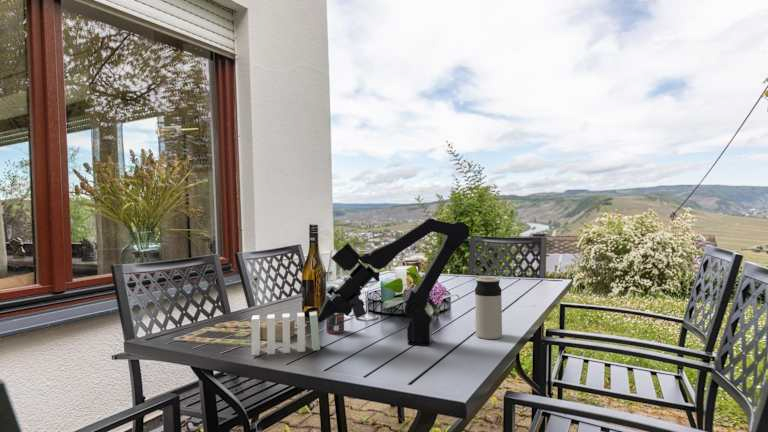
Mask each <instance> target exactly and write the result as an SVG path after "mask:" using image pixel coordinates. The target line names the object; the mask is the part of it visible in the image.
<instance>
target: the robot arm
mask: <svg viewBox="0 0 768 432" xmlns="http://www.w3.org/2000/svg"><path fill="white" fill-rule="evenodd" d="M469 228H470V227H469V226H468V225H467V224H466V223H465V222H463V221H452V222H445V221H442V220H438V219H435V218H426V219H424V221H423V222H421V223H420V224H418V225H416V226H415V227H413V228H412V229H411V230H409V231H408V232H406V233H404V234H402V235H401V236H399V237H398V238H396V239H395V240H393V241H391V242H389V243H386V244H383V245H381V246H379V247H376V248H374V249H372V250H371V251H370V252H368V253H358V252H357V251H356V250H355V249H354V248H353V246H352V245H351V244H350V243H349V242H346V243H345V244H344V245H343V246H342V248H339V249H338V250H337V252H336V253H334V255H332V256H331V260H332V261H333V262H334V263H335V264H336V265H337V266H339V268H341V270H343V271H344V272H345V271H348V272H350V271H352V270H353V271H352V272H350V274H348V276H346V277H344V278H343V279H342V280H343V281H342V282H341V283H340V284H339V285H338V286H337V287H336V286H332V285H331V286H329V287H328V288H327V289H326V291H325V292H326V293H327V294H329V295H326V296H325V299H324V302H323V305H322V307H321V309H320V312H319V314H318V315H317V318H318V324H320V323H322V322H323V321H326V319H327V318H328V317H330V316H331V315H333V314H335V313H344V316H347V317H349V315H350V314H351V313H352V312H353V313H352V314H354V317H355V318H356V319H359V318H362V316H365V315H366V314H367V312H366V309H365V308H364V306H365V303H364V302H363V299H362V298H361V299H360V296H361V295H362V292H361V291H362V290H363V289H364V288H365V287H366V286H367V285H368V284H369V282H371V281H372V280H373V279H374V280H375V281H376V282H379V281H380V271H375V270H382V269H384V268H385V267H387V266H388V265H389V264H390V263H391V262H392V261H393V260H395V258H396V257H397V256H398V255H399V254H400V253H402V252H403V251H404V250H406V249H407V248H409V247H410V246H412V245H414V244H415V243H417V242H418V241H420V240H421V239H423V238H424V237H426V236H428V235H429V234H431V233H437V234H442V235H443V238H442V242H441V245H440V247H439V249H438V251H437V252H436V254H435V256H434V258H432V261H431V263H430V264H429V266H428V268H427V269H426V271H425V273H424V275H423V276H422V278H421V280H420V282H419V283H418V284H417V286H416V287H415V288H414V289H412V288H411V287H408V290H407V293H406V294H405V295H404V297H402V300H403V303H402V308H403V312H404V314H405V315H406V316H407V317H408V318H409V319H410V320H409V321H408V326H407V327H406V333H407V334H406V335H407V336H406V337H407V338H406V340H407V344H408V345H414V346H426V347H427V346H430V345H431V344H432V342H433V341H434V338H433V335H432V333H433V332H432V319H433V318H432V316H431V315H430V313H429V312H428V310H426V307H427V305H428V302H429V297H430V294H431V292H432V290H433V289H434V287H435V285H436V284H437V281H438V279H439V278H440V277H441V275H442V273H443V271H444V269H445V268H446V266H447V265H448V263H449V261H450V259H451V257H452V255H453V254H454V252H456V251H457V250H458V249H459V248H460V247H461V246H462V245H463V244H464V242H465V241H466V240H467V239H468V238H469V236H470V229H469ZM360 261H361V262H360ZM357 264H358V265H357ZM364 264H365V265H368V266H365V265H364ZM356 265H357V266H356ZM370 266H371V267H370ZM374 269H375V270H374Z"/></svg>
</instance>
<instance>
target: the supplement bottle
mask: <svg viewBox="0 0 768 432" xmlns="http://www.w3.org/2000/svg"><path fill="white" fill-rule="evenodd" d="M325 321H326V322H325V325H326V326H325V328H326V333H328V334H333V335H335V334H341V333H342V334H343V332H344V331H345V314H344V313H335V314H333V315H331V316H330V317H328V318H327V319H325Z"/></svg>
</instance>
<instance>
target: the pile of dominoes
mask: <svg viewBox="0 0 768 432" xmlns="http://www.w3.org/2000/svg"><path fill="white" fill-rule="evenodd" d="M295 322H296V321H295V319H294V318H290V338H292V337H293V336H295V335H296V334H295V333H296V331H297V323H295ZM307 327H308V326H307V324H306V323H305V328H307ZM207 333H223V334H234V338H239V339H233V338H232V339H230V338H223V339H222V338H213V337H212V338H211V337H201V336H202V335H205V334H207ZM249 336H251V321H246V320H244V321H238V320H232V321H226V322H220V323H217V324H214V326H213V327H209V326H206V327H203V328H201V329H198V330H194V331H192V332H190V333H187V334H183V335H180V336H177V337H174V338H173V340H172V341H173V342H178V341H187V342H186V343H194V344H203V343H204V344H205V345H221V346H233V347H238V346H240V347H246V348H252V339H251V340H245V338H247V337H249ZM240 338H241V339H240ZM243 338H244V339H243ZM261 339H262V340H263V341H262V340H261ZM275 341H282V342H283V327H282V319H281V320H279V321H275ZM265 347H267V320H262V321H260V349H261V348H265Z"/></svg>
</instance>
